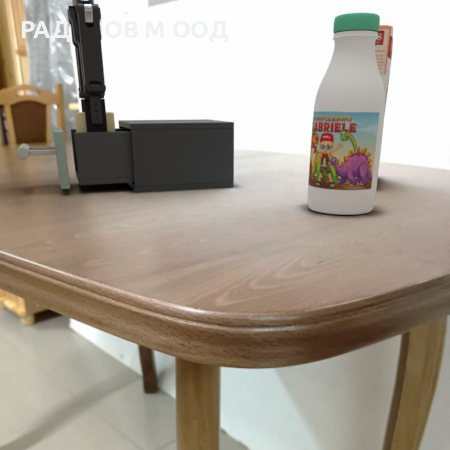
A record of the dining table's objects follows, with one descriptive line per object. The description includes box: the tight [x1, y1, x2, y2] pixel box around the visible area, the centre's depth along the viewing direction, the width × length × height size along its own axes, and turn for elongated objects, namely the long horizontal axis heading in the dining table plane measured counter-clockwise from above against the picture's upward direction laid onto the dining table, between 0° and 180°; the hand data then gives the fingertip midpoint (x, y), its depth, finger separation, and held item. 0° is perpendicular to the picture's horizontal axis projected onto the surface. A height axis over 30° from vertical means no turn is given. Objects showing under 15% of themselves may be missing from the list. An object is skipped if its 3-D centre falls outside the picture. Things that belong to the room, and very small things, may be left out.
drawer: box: [16, 127, 134, 190], centre depth 70 cm, size 18×11×7 cm, turn 109°
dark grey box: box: [118, 118, 235, 194], centre depth 74 cm, size 15×13×9 cm
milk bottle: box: [307, 12, 386, 216], centre depth 54 cm, size 8×8×20 cm
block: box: [73, 111, 116, 132], centre depth 69 cm, size 5×5×5 cm
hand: (96, 147), depth 70 cm, fingers closed on block, 5 cm apart
